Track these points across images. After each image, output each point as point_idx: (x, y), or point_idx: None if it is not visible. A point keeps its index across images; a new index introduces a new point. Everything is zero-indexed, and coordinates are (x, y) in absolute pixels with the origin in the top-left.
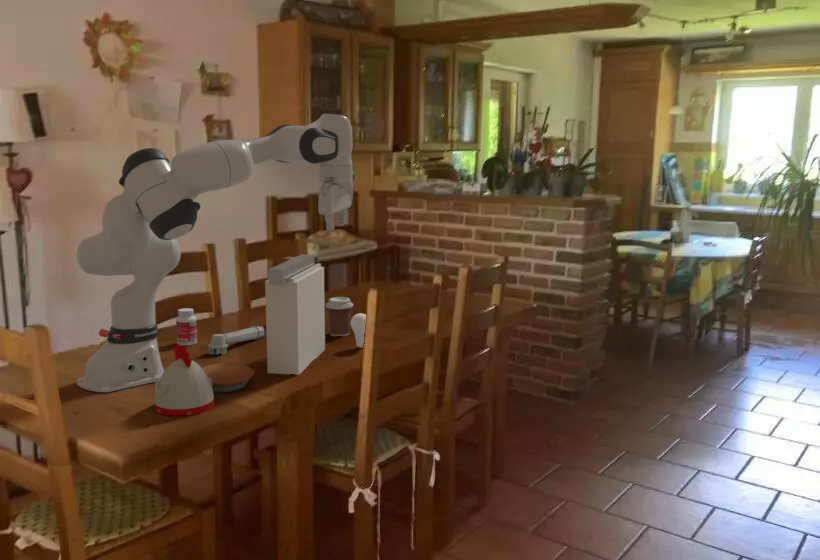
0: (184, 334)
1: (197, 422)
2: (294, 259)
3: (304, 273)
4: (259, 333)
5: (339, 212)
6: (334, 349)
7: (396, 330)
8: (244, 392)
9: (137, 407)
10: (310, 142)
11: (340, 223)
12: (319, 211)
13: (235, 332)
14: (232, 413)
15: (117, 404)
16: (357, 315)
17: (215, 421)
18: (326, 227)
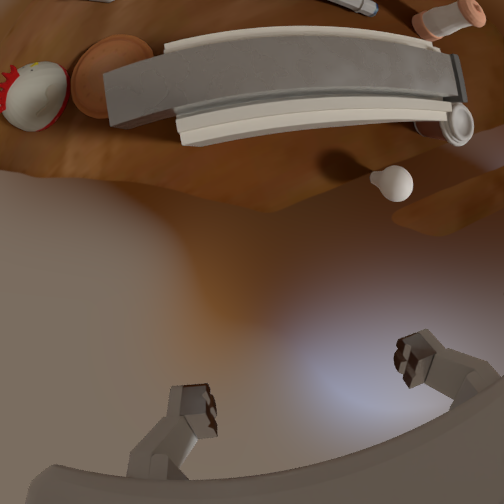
0: None
1: (14, 150)
2: (358, 51)
3: (306, 111)
4: (358, 10)
5: (461, 386)
6: (353, 140)
7: (454, 198)
8: (101, 122)
9: (28, 59)
10: None
11: (401, 362)
12: (38, 477)
13: None
14: (41, 164)
15: (32, 36)
16: (398, 183)
17: (21, 165)
18: (169, 395)
